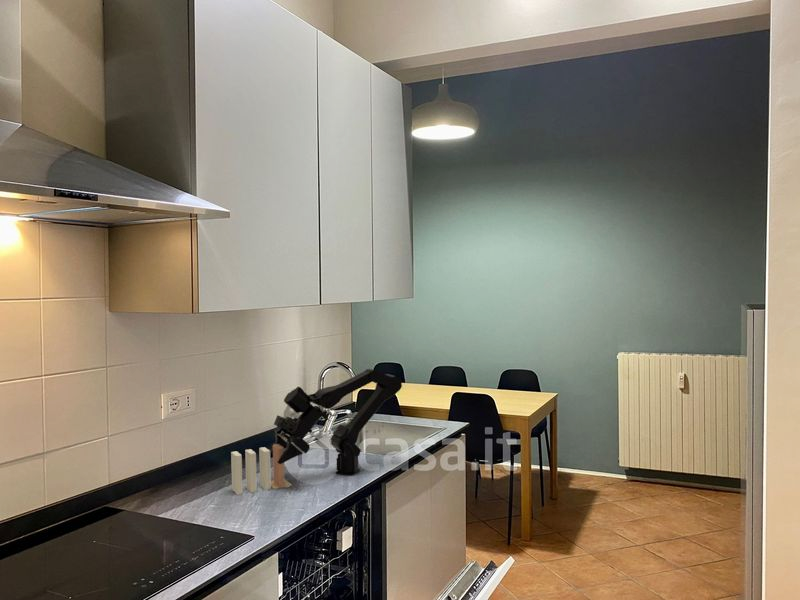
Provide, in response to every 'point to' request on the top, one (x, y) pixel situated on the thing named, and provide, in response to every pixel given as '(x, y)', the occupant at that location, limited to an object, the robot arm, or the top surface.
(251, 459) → the ivory domino
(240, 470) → the ivory domino
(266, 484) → the ivory domino
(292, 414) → the plastic bottle
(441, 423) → the top surface
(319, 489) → the top surface
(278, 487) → the birch pad
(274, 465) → the terracotta domino
